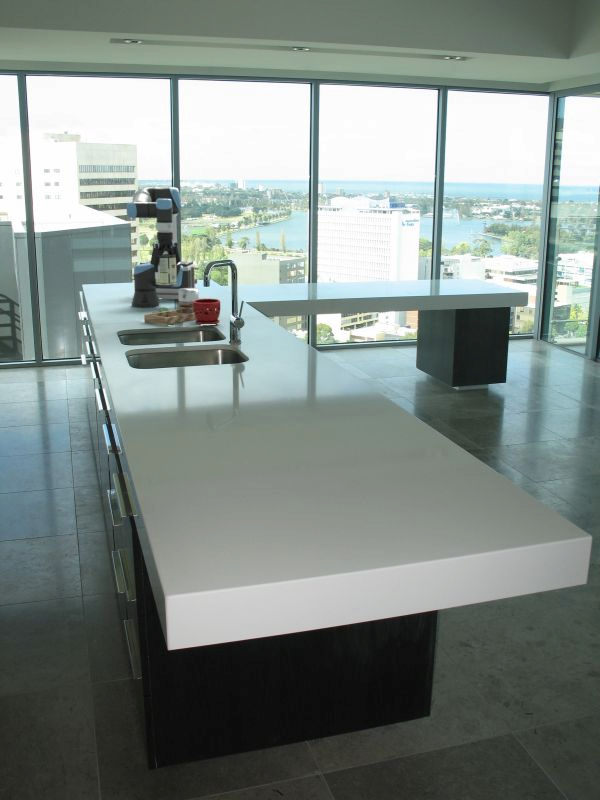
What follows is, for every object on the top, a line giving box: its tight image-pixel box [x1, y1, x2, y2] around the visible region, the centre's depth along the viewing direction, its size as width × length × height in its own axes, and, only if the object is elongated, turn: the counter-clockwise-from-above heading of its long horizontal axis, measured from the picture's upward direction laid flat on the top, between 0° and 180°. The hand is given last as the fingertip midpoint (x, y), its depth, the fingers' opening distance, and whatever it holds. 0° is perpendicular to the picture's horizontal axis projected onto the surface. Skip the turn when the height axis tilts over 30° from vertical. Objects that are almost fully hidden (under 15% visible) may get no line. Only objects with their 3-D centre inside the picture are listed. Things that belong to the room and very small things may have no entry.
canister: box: [177, 287, 199, 314], centre depth 421 cm, size 10×10×14 cm
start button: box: [160, 306, 170, 312], centre depth 427 cm, size 4×4×4 cm
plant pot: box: [193, 298, 221, 325], centre depth 405 cm, size 13×13×12 cm
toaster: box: [139, 259, 200, 300], centre depth 494 cm, size 18×34×21 cm, turn 85°
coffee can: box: [156, 254, 177, 285], centre depth 405 cm, size 10×10×14 cm
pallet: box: [143, 308, 197, 327], centre depth 417 cm, size 30×16×4 cm, turn 142°
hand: (166, 278), depth 406 cm, fingers closed on coffee can, 10 cm apart
